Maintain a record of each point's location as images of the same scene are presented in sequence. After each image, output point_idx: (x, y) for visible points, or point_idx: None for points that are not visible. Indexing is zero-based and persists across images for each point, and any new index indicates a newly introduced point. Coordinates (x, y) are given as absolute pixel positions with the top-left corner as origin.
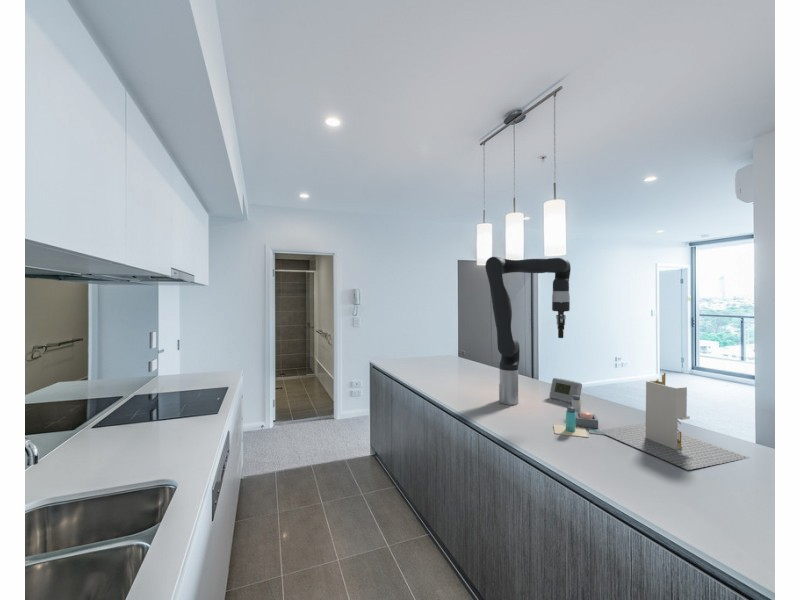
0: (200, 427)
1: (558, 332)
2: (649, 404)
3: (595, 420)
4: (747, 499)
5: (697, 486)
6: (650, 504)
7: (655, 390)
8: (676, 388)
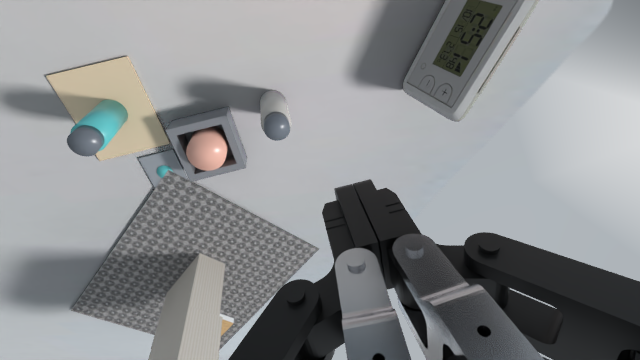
0: None
1: (348, 226)
2: (180, 325)
3: (188, 175)
4: (31, 354)
5: (15, 319)
6: None
7: None
8: None
